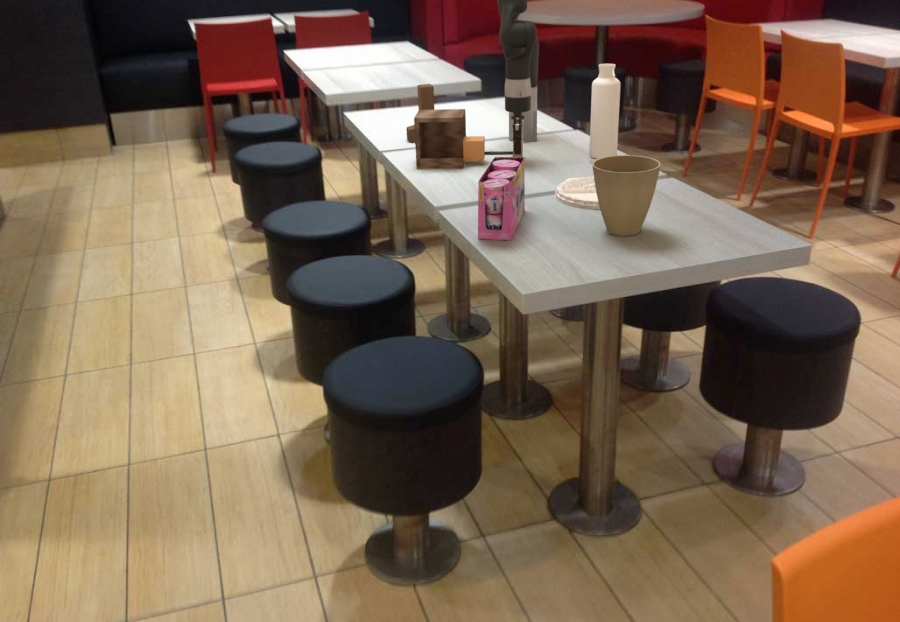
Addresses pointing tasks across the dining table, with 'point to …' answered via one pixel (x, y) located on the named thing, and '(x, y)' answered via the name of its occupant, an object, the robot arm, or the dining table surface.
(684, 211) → the dining table surface
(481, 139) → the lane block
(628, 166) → the plant pot
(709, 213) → the dining table surface
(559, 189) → the medallion
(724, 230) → the dining table surface
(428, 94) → the wooden block
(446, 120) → the box
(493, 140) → the dining table surface
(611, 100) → the bottle
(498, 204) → the gum box
